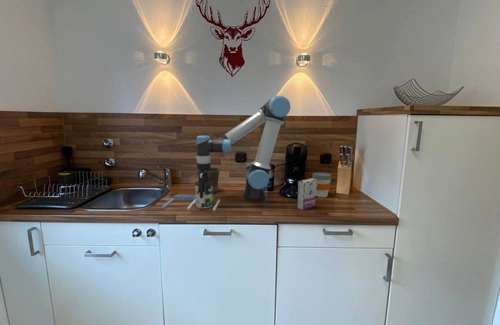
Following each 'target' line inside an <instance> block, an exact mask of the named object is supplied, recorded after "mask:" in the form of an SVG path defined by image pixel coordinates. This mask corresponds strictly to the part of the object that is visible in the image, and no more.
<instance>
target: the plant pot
mask: <svg viewBox="0 0 500 325" xmlns="http://www.w3.org/2000/svg"><path fill="white" fill-rule="evenodd" d="M196 171H197V172H196V173H197V176H198V177H197V178H199V174H200V172H201V171H200V170H197V169H196ZM220 171H221V169H220V168H219V167H210V170H209V181H212V182H213V194H215V193H217V192H218V189H219V187H218V186H219V176H220Z"/></svg>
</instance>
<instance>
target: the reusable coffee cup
mask: <svg viewBox="0 0 500 325" xmlns="http://www.w3.org/2000/svg"><path fill="white" fill-rule="evenodd" d="M311 178H312V179H316V180H317V192H316V197H317V196H318V198H327V197H328V195H329V190H330V189H331V183H332V182H331V180H332V173H329V172H323V171H322V172H321V171H315V172H313V173H312V176H311Z"/></svg>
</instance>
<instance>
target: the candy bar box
mask: <svg viewBox="0 0 500 325" xmlns="http://www.w3.org/2000/svg"><path fill="white" fill-rule="evenodd" d="M316 192H317V180H316V179H313V178H312V177H311V178H307V179H301V180H299V181H298V180H297V209H299V210H302V211H306V210H309V209H312V208H315V207H316V206H317V196H316Z"/></svg>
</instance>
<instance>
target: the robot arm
mask: <svg viewBox="0 0 500 325" xmlns="http://www.w3.org/2000/svg"><path fill="white" fill-rule="evenodd" d="M290 111H291V103H290V101H289V99H288V98H287V97H285V96H284V95H275V96H273V97H272V98H270V99H269V100H267V102H266V103H264V104H263V105H262V106H261V107H259V109H258V111H257V112H255V113H253V114H252V115H251V116H250V117H248V118H246V119H245V120H244V121H241V123H239V124H238V125H236V126H234V128H232V129H230V130H229V131H227V132H226V133H224V135H222V136H220V137H218V138H215V139H213V138H211V136H210V135H198V136H196V157H195V159H196V163H197V164H196V171H197V170H200V171H201V172H200V174H199V177H198V181H199V184H198V192H199V201H200V203H205V197H204V185H203V184H205V181H209V170H210V168H211V153H221V154H222V153H225V154H226V153H231V152H232V145H233V144H235V143H236V142H237V141H239V140H240V139H242V138H244V137H245V136H246V135H247V134H249V133H251V132H252V131H253V130H255V129H256V128H258V127H259V126H261V125H263V124H264V123H265V125H264V127H263V131H262V134H261V137H260V138H261V139H260V141H259V145H258V148H257V152H256V156H255V159H254V161H252V162H247V163H246V164H245V187H244V190H243V194H242V199H244V200H246V201H250V202H258V201H264V200H266V198H267V194H266V190H265V188H266V187H267V186H268V184H269V181H270V177H269V176H270V173H271V172H270V171H271V170H272V167H271V166H270V162H271V159H272V155H273V153H274V149H275V145H276V141H277V139H278V135H279V133H280V132H279V131H280V130H281V129H280V128H281V125H283V124H285V121H286V117H287V115H288V114H289V113H290Z"/></svg>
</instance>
